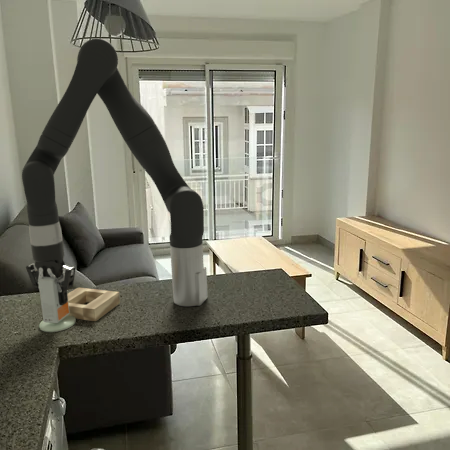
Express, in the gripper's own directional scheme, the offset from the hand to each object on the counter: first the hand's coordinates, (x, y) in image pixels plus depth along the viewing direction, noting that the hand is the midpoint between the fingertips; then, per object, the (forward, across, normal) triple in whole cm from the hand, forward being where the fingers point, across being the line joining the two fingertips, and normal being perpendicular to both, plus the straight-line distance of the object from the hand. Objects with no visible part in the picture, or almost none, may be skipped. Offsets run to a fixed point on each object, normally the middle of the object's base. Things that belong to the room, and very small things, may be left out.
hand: (55, 302), depth 115 cm
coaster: (+6, 0, 0) cm, 6 cm away
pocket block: (+6, -2, -10) cm, 12 cm away
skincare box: (+5, 0, 0) cm, 5 cm away
